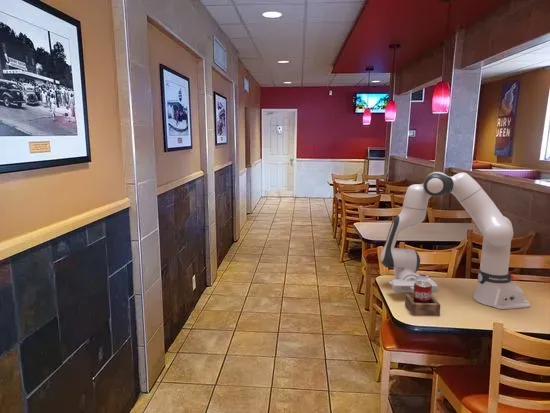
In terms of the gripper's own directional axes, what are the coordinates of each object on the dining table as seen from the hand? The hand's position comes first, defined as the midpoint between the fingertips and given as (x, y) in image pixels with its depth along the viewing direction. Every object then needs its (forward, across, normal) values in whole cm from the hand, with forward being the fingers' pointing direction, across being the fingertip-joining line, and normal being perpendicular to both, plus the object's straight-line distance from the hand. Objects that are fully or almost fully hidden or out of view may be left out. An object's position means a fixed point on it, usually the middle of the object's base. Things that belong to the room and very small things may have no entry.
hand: (419, 293), depth 169 cm
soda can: (+4, 0, +6) cm, 7 cm away
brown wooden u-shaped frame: (+4, 0, +6) cm, 7 cm away
